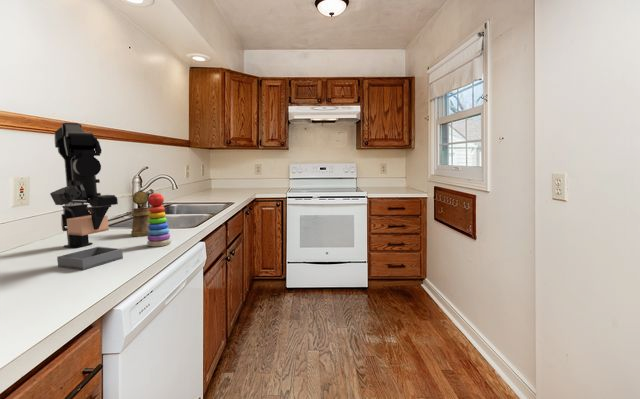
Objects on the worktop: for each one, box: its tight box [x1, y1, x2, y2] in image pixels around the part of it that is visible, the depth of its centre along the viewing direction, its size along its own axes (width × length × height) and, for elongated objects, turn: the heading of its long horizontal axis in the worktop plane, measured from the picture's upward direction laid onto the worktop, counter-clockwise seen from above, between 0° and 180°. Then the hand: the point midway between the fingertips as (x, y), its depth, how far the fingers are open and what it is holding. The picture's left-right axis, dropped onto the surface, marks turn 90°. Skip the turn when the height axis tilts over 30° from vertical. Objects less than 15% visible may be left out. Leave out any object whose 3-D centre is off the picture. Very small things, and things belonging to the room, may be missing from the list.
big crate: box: [56, 246, 124, 271], centre depth 102 cm, size 10×12×3 cm
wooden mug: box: [130, 190, 151, 237], centre depth 144 cm, size 9×14×18 cm, turn 27°
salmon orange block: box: [66, 215, 110, 236], centre depth 101 cm, size 6×8×4 cm
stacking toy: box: [146, 192, 172, 248], centre depth 123 cm, size 8×8×19 cm
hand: (88, 229), depth 101 cm, fingers closed on salmon orange block, 6 cm apart
